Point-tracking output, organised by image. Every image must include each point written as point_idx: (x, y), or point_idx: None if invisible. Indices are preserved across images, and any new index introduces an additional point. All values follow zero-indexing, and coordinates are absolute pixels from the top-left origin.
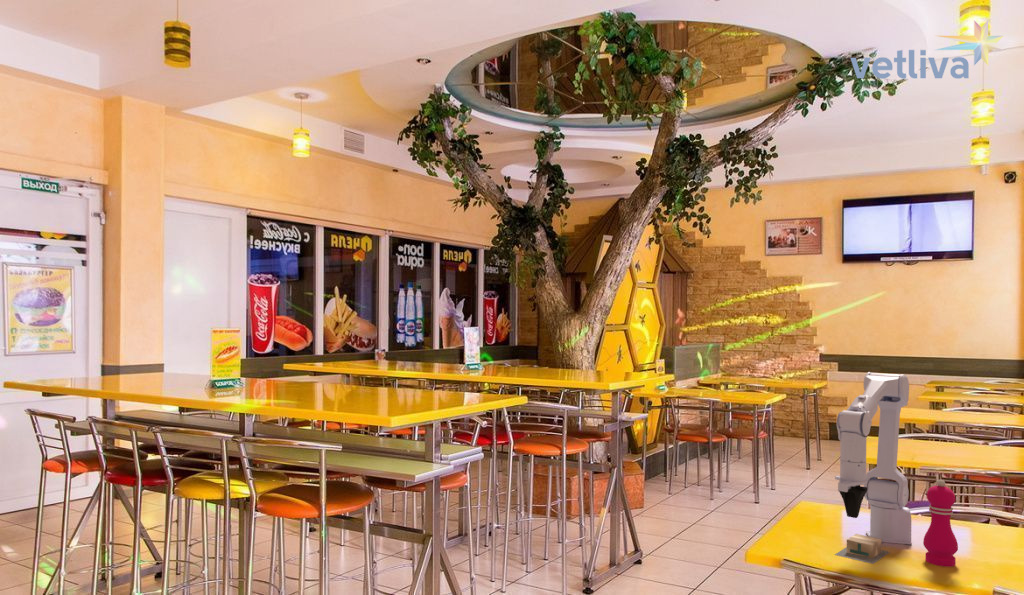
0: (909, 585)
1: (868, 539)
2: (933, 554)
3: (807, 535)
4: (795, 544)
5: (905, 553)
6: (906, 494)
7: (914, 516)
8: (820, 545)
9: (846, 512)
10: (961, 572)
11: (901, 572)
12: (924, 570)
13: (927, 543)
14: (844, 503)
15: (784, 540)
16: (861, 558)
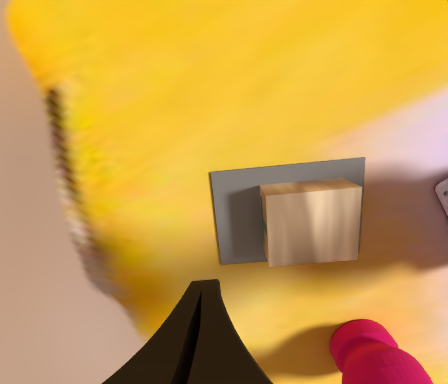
0: None
1: (323, 237)
2: (347, 358)
3: (359, 2)
4: (218, 33)
5: (379, 276)
6: None
7: None
8: (275, 96)
9: (186, 291)
10: (322, 380)
11: None
12: (275, 339)
13: (355, 374)
14: (160, 327)
15: None
16: (240, 231)
